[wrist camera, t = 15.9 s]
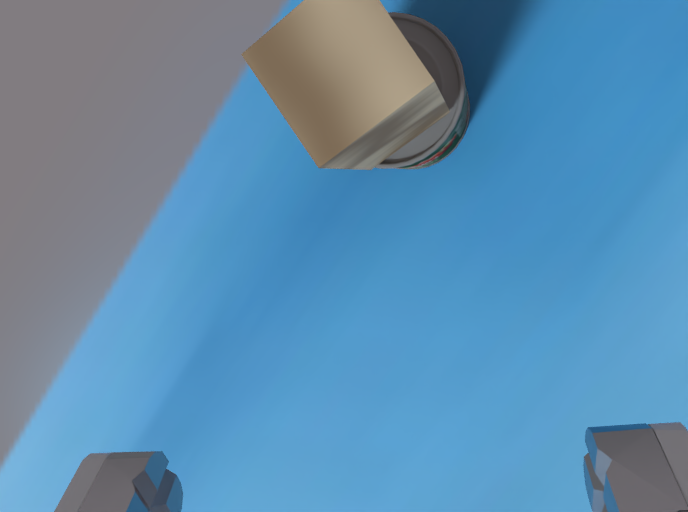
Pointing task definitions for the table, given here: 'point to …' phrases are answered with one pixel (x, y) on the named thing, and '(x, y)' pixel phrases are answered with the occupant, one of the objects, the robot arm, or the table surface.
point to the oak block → (346, 82)
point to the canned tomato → (452, 87)
